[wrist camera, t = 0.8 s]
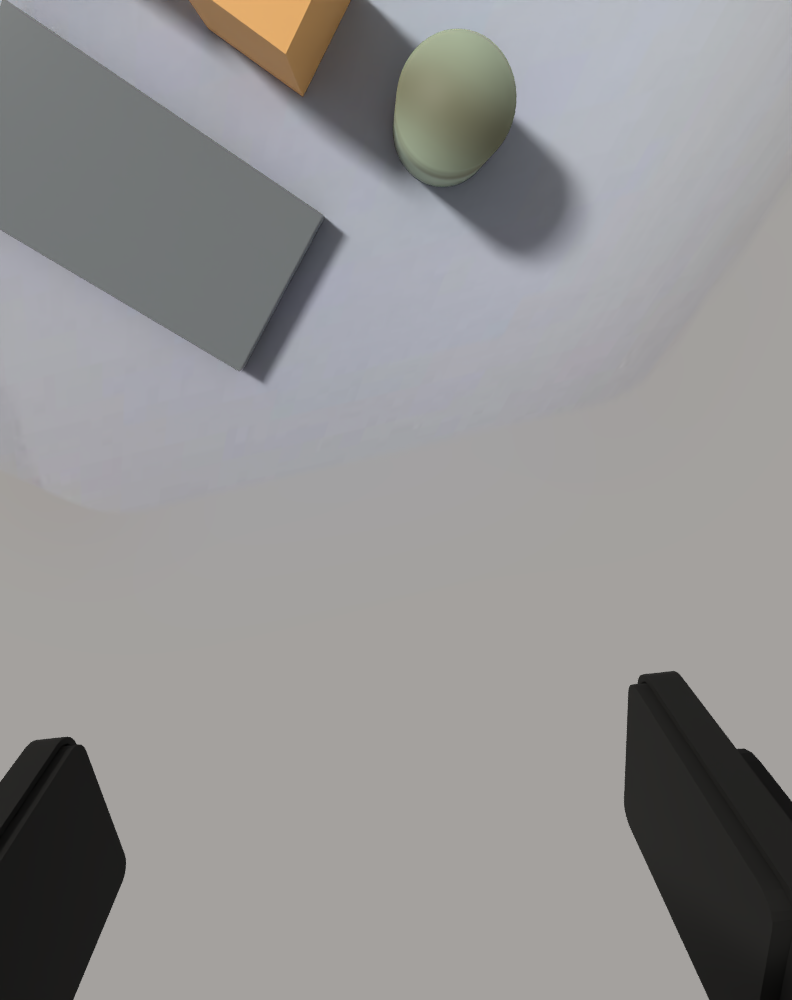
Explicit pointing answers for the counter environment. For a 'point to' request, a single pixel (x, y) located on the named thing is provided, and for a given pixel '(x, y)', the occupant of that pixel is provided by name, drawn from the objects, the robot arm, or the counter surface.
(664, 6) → the counter surface
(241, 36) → the orange block
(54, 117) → the slate board
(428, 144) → the sage cylinder
